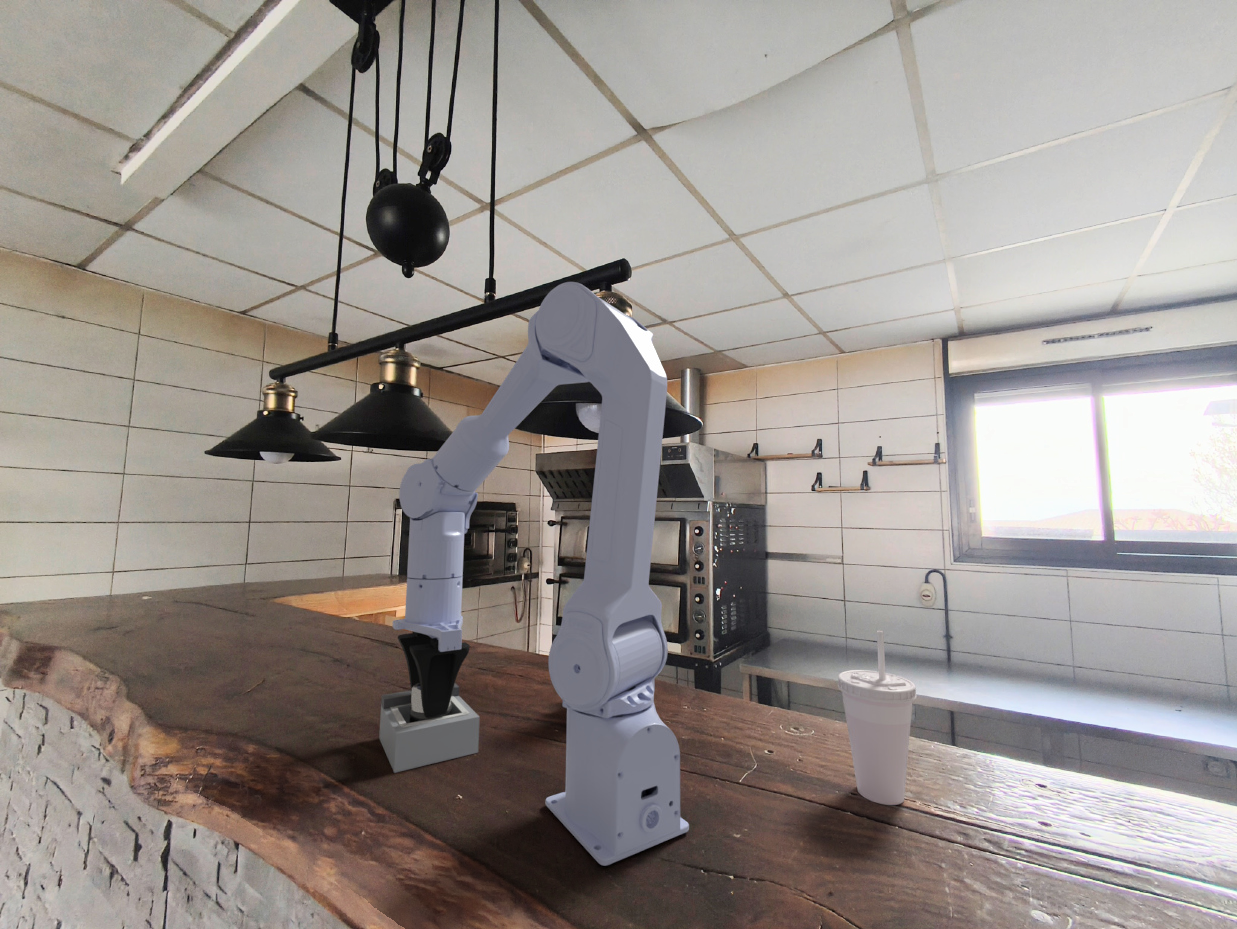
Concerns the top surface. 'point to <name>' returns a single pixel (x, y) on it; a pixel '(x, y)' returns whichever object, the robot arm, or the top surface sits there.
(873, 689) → the smoothie
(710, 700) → the top surface
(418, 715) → the lens
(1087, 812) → the top surface
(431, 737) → the grey sink basin
